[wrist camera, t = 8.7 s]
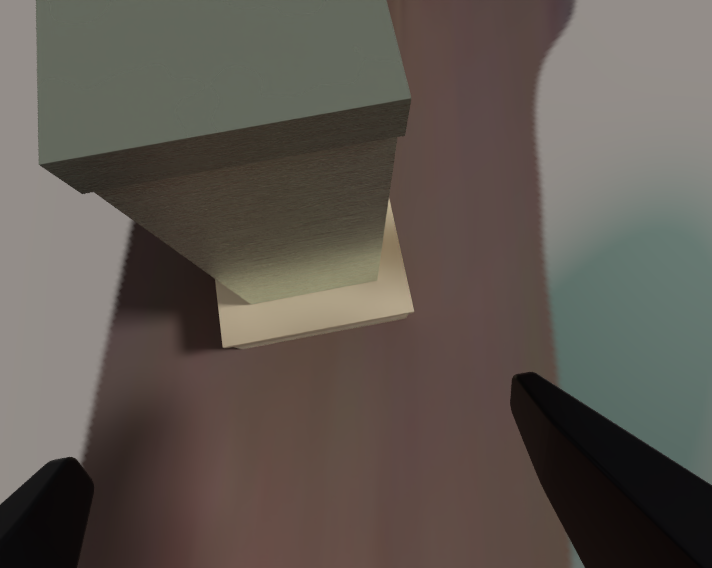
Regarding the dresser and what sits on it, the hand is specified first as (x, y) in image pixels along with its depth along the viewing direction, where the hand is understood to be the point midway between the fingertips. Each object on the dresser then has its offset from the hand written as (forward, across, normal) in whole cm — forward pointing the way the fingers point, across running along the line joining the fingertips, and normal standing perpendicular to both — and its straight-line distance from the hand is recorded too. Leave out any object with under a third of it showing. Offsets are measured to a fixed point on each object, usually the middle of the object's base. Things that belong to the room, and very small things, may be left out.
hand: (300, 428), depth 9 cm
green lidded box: (+11, 0, +1) cm, 11 cm away
